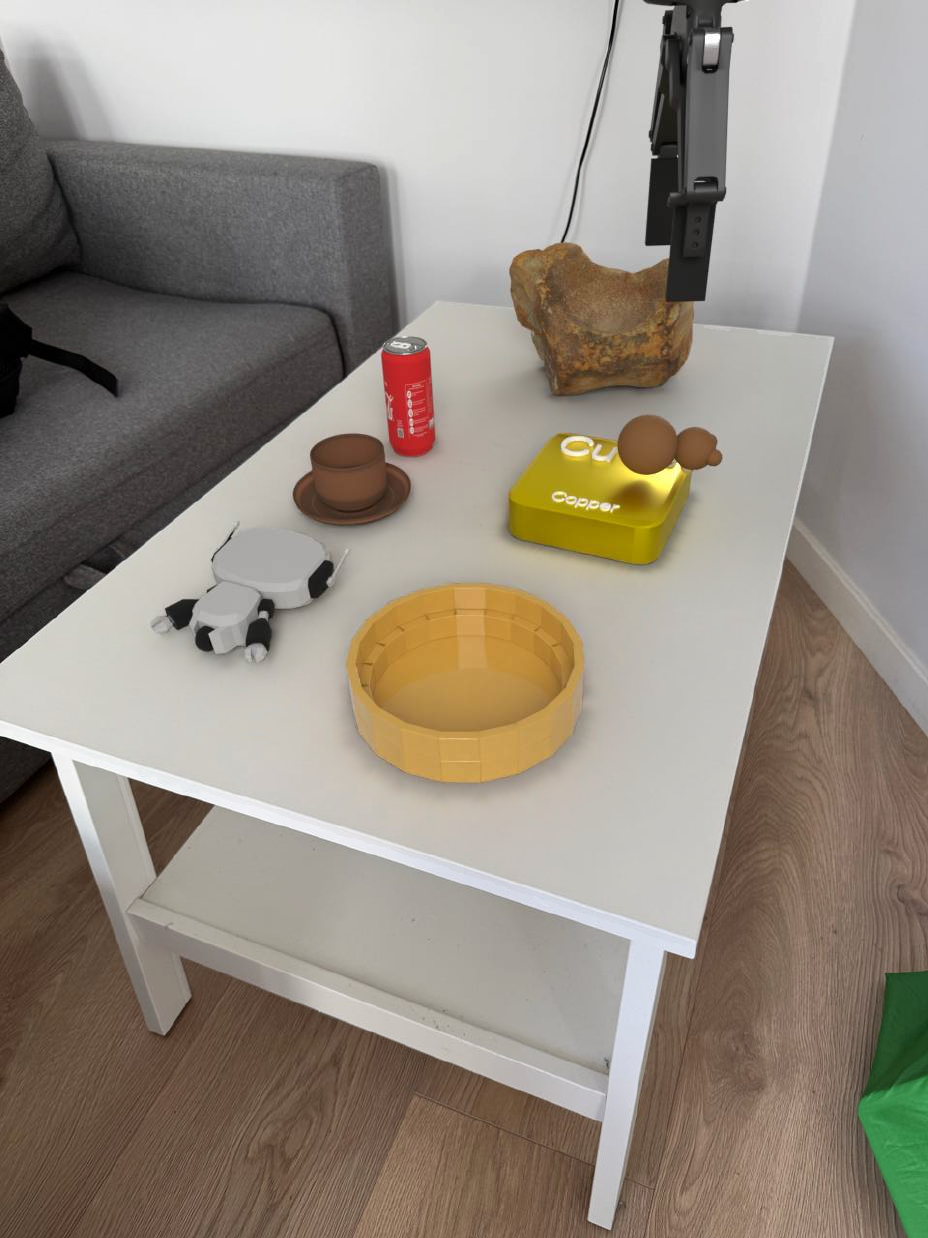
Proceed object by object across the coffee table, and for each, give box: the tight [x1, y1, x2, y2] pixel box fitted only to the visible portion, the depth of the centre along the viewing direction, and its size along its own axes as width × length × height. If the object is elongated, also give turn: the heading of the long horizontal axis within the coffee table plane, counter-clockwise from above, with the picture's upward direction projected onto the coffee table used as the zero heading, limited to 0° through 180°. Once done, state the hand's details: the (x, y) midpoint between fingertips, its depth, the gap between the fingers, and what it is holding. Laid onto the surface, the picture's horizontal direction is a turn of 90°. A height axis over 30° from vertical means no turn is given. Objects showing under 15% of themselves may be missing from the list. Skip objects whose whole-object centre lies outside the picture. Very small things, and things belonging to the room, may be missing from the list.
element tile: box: [507, 432, 693, 565], centre depth 89 cm, size 15×15×5 cm
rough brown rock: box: [508, 241, 695, 397], centre depth 110 cm, size 23×17×15 cm
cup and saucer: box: [292, 432, 412, 526], centre depth 92 cm, size 12×12×6 cm
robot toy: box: [150, 520, 351, 663], centre depth 79 cm, size 12×4×15 cm
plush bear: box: [617, 413, 724, 475], centre depth 86 cm, size 6×6×10 cm
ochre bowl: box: [345, 582, 585, 784], centre depth 69 cm, size 17×17×5 cm
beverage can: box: [380, 335, 436, 458], centre depth 99 cm, size 5×5×12 cm
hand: (672, 270), depth 71 cm, fingers open, 13 cm apart
